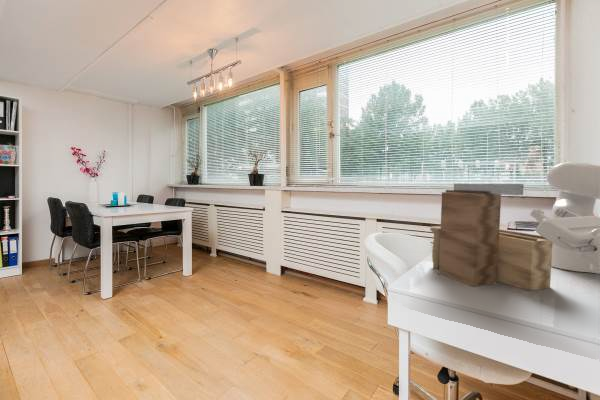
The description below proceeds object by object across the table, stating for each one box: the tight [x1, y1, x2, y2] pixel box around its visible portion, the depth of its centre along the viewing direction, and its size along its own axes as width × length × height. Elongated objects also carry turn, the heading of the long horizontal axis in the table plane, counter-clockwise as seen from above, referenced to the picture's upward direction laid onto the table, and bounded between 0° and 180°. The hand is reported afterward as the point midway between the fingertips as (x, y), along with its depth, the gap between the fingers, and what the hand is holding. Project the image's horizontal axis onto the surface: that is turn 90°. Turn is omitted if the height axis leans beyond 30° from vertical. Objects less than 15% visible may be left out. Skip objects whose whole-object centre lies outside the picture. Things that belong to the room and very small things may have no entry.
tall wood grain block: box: [438, 189, 502, 288], centre depth 94 cm, size 10×13×29 cm
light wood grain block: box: [497, 228, 553, 292], centre depth 92 cm, size 9×15×15 cm, turn 20°
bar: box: [453, 182, 525, 196], centre depth 88 cm, size 3×20×3 cm, turn 20°
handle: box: [430, 225, 441, 270], centre depth 105 cm, size 5×6×15 cm
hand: (545, 211), depth 73 cm, fingers open, 8 cm apart
